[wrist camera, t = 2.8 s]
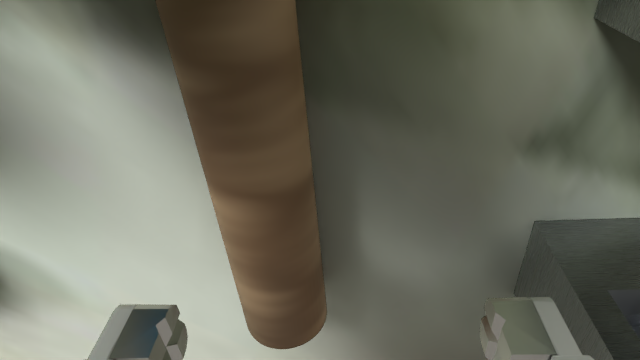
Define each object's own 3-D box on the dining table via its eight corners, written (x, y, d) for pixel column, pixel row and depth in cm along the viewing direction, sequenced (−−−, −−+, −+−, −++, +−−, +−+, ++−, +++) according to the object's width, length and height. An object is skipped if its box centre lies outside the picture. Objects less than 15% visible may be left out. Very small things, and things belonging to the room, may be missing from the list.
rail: (284, -100, 13) (152, -88, 13) (286, -95, 10) (110, -79, 10) (322, 277, 23) (248, 286, 23) (330, 343, 19) (244, 353, 19)
